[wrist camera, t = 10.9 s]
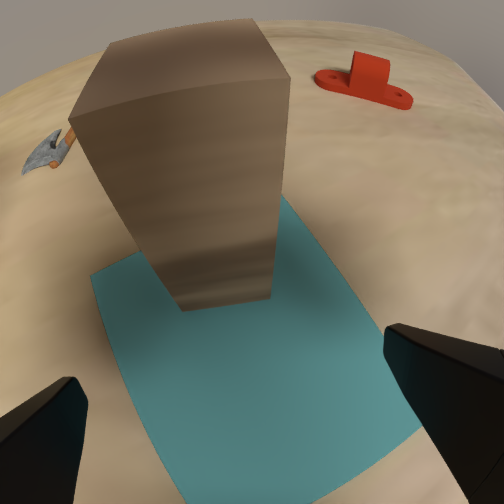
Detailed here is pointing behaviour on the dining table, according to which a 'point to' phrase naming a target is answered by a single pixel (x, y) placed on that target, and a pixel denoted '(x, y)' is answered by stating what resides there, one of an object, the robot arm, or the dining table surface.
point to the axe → (50, 151)
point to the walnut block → (193, 154)
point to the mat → (257, 379)
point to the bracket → (366, 82)
